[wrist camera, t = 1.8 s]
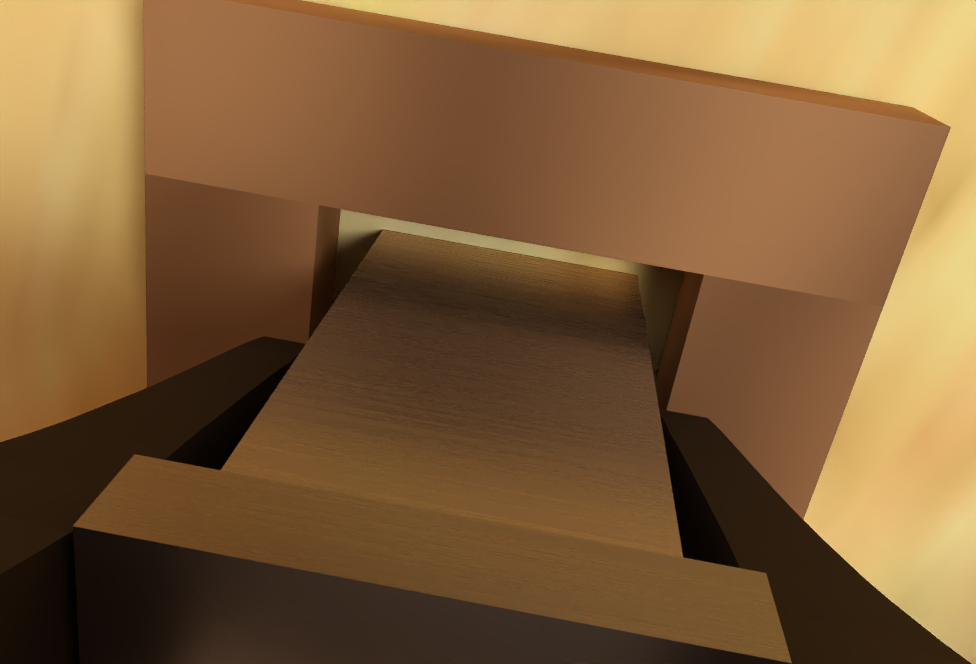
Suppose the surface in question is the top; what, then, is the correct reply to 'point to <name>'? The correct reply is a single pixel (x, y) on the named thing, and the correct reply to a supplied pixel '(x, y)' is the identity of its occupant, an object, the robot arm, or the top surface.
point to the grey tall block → (429, 494)
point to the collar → (528, 195)
